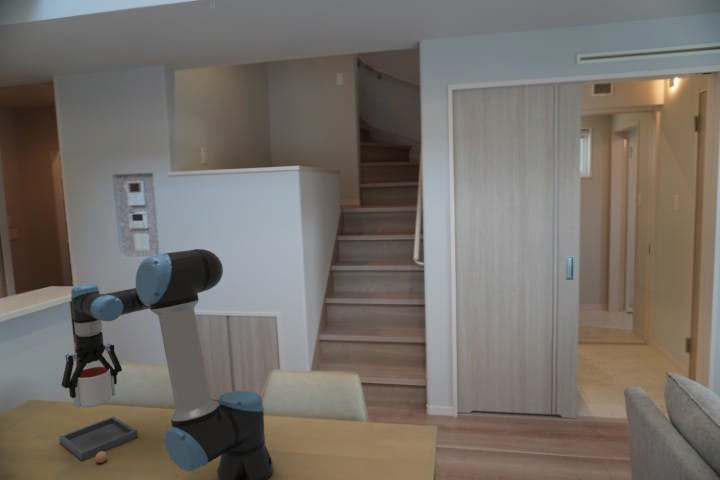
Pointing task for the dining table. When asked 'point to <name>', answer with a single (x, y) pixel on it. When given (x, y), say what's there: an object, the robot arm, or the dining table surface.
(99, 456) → the ball
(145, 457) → the dining table surface
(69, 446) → the tray
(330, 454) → the dining table surface
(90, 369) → the cup
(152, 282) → the robot arm
